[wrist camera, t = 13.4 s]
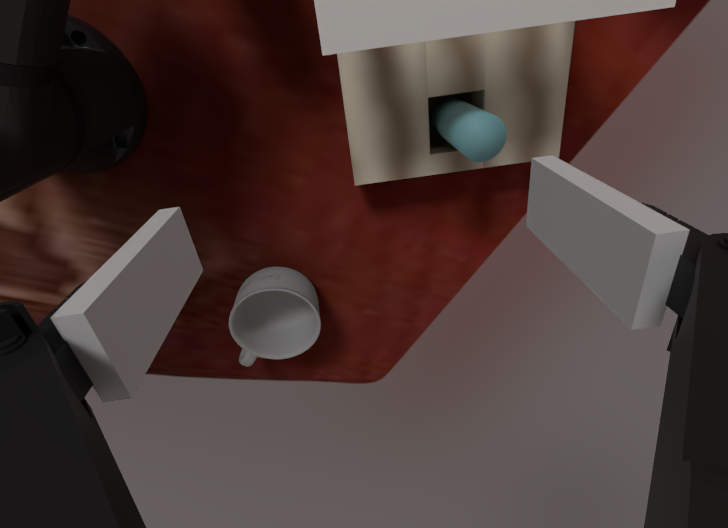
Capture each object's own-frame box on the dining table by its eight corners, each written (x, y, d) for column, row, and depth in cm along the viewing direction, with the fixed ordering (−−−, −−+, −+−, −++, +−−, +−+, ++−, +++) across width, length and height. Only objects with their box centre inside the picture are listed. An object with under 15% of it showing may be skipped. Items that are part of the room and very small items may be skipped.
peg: (430, 137, 46) (460, 165, 35) (428, 99, 44) (459, 117, 33) (465, 131, 46) (505, 158, 35) (465, 93, 44) (507, 110, 33)
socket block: (353, 172, 48) (354, 185, 43) (324, -37, 38) (323, -46, 34) (538, 146, 48) (558, 157, 43) (558, -69, 38) (587, -83, 34)
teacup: (278, 240, 52) (269, 272, 45) (338, 291, 56) (339, 327, 49) (210, 305, 56) (192, 344, 49) (271, 347, 60) (263, 388, 53)
